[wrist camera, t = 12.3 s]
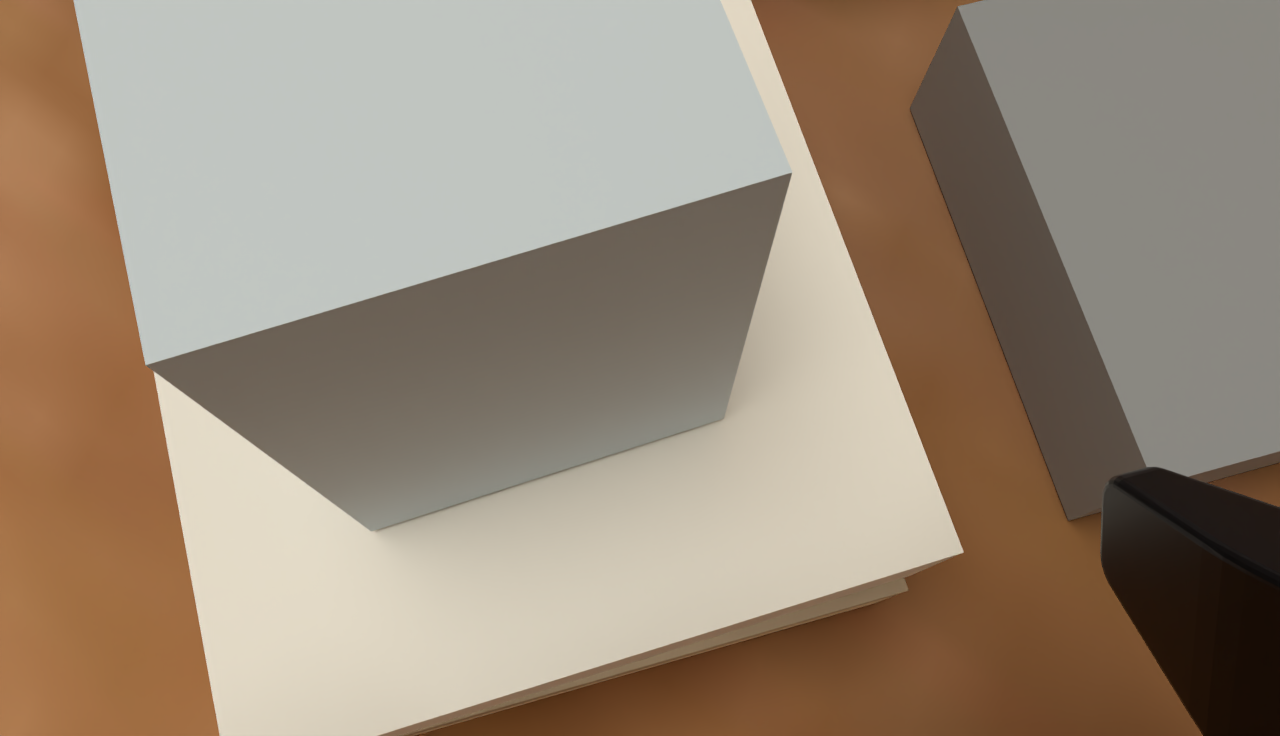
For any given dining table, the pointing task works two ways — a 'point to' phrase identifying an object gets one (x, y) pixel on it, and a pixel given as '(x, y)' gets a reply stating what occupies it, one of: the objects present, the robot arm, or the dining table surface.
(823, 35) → the dining table surface
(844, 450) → the cream slab
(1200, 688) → the robot arm
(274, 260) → the blue-grey block
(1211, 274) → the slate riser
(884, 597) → the oak slab
